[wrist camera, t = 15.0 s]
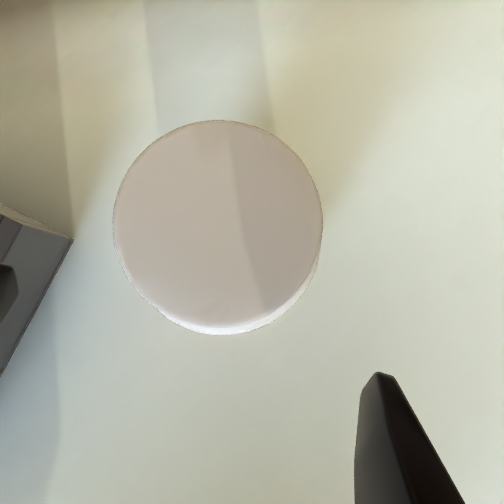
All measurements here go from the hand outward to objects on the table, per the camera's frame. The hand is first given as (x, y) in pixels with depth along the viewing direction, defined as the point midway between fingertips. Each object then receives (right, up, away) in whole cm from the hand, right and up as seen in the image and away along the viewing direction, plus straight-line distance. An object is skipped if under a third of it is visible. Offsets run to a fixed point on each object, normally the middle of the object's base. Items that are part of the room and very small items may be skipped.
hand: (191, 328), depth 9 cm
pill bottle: (+1, +2, +9) cm, 9 cm away
